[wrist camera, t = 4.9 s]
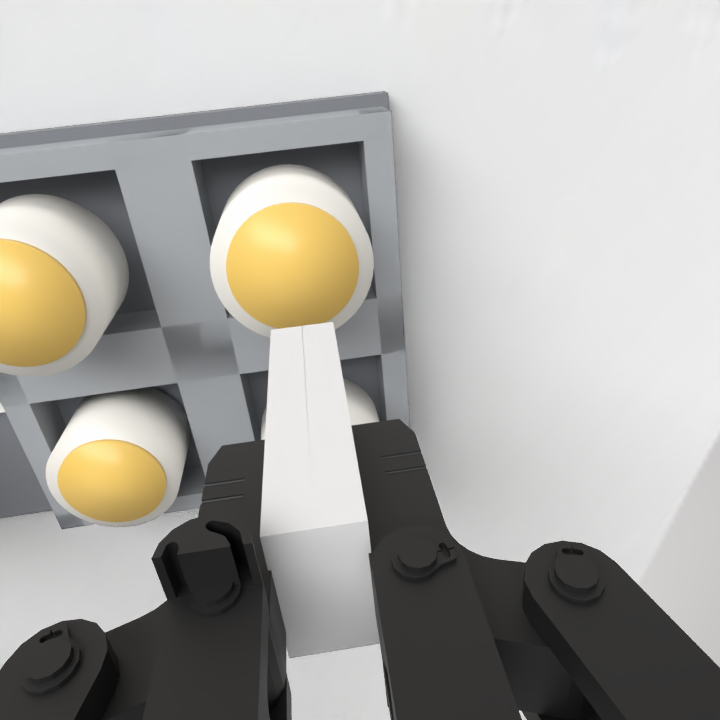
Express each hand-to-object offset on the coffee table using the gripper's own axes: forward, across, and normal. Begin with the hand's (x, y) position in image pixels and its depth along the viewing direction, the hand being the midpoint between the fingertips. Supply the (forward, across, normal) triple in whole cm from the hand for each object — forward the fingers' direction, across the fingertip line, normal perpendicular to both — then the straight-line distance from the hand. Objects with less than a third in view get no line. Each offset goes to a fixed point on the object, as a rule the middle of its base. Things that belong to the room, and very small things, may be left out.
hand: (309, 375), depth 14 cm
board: (+15, -8, -5) cm, 18 cm away
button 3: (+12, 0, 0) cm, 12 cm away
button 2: (+14, -10, -10) cm, 20 cm away
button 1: (+12, -10, 0) cm, 16 cm away
